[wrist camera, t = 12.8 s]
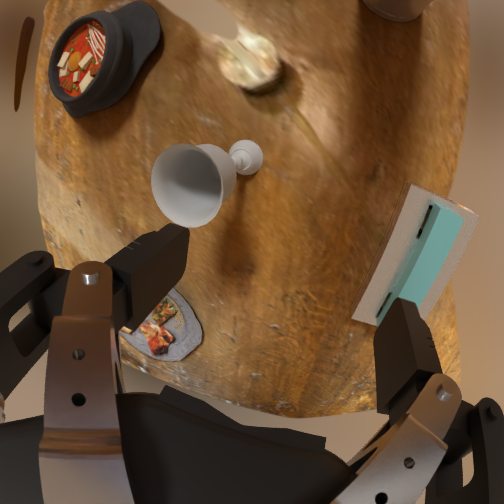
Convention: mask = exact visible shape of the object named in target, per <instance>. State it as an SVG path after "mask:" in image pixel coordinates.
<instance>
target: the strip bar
mask: <svg viewBox="0 0 504 504" xmlns="http://www.w3.org/2000/svg"><path fill="white" fill-rule="evenodd" d="M463 221H464V219H463V218H462V217H461V216H460V215H458V214H457V213H455V212H453V211H451V210H449V209H447V208H445V207H443V206H441V205H439V204H437V203H434V205H433V207H432V210H431V209H429V208H428V210H427V212H426V215H425V217H424V220H423V222H422V225H421V227H420V228H421V229H422V233H421V236H420V238H419V240H418V242H417V244H416V247H415V249H414V251H413V253H412V255H411V257H410V259H409V261H408V263H407V265H406V267H405V269H404V271H403V273H402V275H401V277H400V279H399V281H398V283H397V285H396V287H395V288H394V290H393V292H392V293H391V292H389V293H388V295H387V297H386V299H385V300H384V302H383V304H382V312H381V313H380V315H379V317H378V318H377V320H376V322H377V328H378V326H379V325H380V323H381V321H382V320H383V318H384V316H385V315H386V313H387V311H388V309H389V308H390V306H391V304H392V302H393V301H394V300H395V299H396V298H397V297H400V298H403V299H406V300H409V301H412V302H415V303H416V305H417V308H419V306H420V304H421V303H422V301H423V299H424V298H425V296H426V294H427V293H428V291H429V289H430V287H431V286H432V284H433V282H434V280H435V278H436V277H437V275H438V273H439V271H440V269H441V267H442V265H443V263H444V262H445V260H446V258H447V256H448V254H449V252H450V249H451V247H452V245H453V243H454V241H455V239H456V237H457V235H458V232H459V230H460V228H461V226H462V223H463Z"/></svg>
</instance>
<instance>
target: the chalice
mask: <svg viewBox="0 0 504 504" xmlns="http://www.w3.org/2000/svg"><path fill="white" fill-rule="evenodd" d="M262 163H263V153H262V151H261V149H260V147H259V146H258V145H257V144H256V143H254V142H253V141H249V140H241V141H238V142H236V143H235V144H234V145H232V147H231V149H230V150H229V154H228V153H226V152H225V151H224V150H222V149H221V148H219V147H218V146H214V145H211V144H202V145H197V146H194V145H190V144H187V143H184V144H174V145H172V146H170V147H169V148H167V149H165V150H164V151H163V152H162V153H161V154H160V155H159V157H158V158H157V159H156V162H155V164H154V167H153V169H152V177H151V184H152V191H153V195H154V197H155V200H156V202H157V205H158V206H159V208H160V209H161V210H162V212H163V213H164V214H165V215H166V216H167V217H168V218H169V219H171V220H172V221H173V222H174V223H177V224H179V225H182V226H184V227H199V226H202V225H205V224H207V223H208V222H209V221H210V220H212V219H213V218H214V217H215V216H216V214H217V212H218V210H219V209H220V207H221V204H222V203H223V202H224V201H225V200H227V199H228V198H229V197H230V196H231V194H232V192H233V190H234V189H235V184H236V177H237V174H236V172H237V173H239V174H242V175H251V174H254V173H255V172H257V171H258V170H259V169H260V167H261V166H262Z"/></svg>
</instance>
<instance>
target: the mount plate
mask: <svg viewBox="0 0 504 504" xmlns="http://www.w3.org/2000/svg"><path fill="white" fill-rule="evenodd" d="M434 203H437V204H439V205H441V206H443V207H445V208H447V209H449V210H451V211H453V212H455V213H457V214H458V215H460V216H461V217H462V218H463V219H464V221H463V223H462V226H461V228H460V230H459V232H458V235H457V237H456V239H455V241H454V243H453V245H452V247H451V249H450V252H449V254H448V256H447V258H446V260H445V262H444V263H443V265H442V267H441V269H440V271H439V273H438V275H437V277H436V278H435V280H434V282H433V284H432V286H431V287H430V289H429V291H428V293H427V294H426V296H425V298H424V299H423V301H422V303H421V304H420V306H419V308H418V311H419V314H420V317H421V318H422V319H423V320H424V321H425V319H426V318H427V316H428V315H429V313H430V312H431V310H432V308H433V307H434V305H435V304H436V302H437V300H438V299H439V297H440V295H441V294H442V292H443V290H444V288H445V287H446V285H447V283H448V281H449V280H450V278H451V276H452V274H453V272H454V270H455V268H456V266H457V264H458V262H459V260H460V259H461V256H462V255H463V253H464V251H465V249H466V246H467V244H468V242H469V240H470V238H471V236H472V234H473V231H474V229H475V227H476V225H477V222H478V220H479V216H478V215H477V214H475V213H474V212H473V211H471V210H470V209H467V208H466V207H464V206H462V205H460V204H458V203H456V202H454V201H452V200H450V199H448V198H446V197H444V196H441V195H439V194H437V193H435V192H433V191H431V190H429V189H426V188H424V187H422V186H420V185H417V184H415V183H413V182H410V181H408V180H405V183H404V186H403V189H402V191H401V194H400V197H399V199H398V202H397V205H396V207H395V210H394V213H393V215H392V218H391V220H390V223H389V225H388V228H387V230H386V232H385V235H384V237H383V240H382V242H381V244H380V247H379V249H378V251H377V253H376V256H375V258H374V260H373V262H372V264H371V267H370V269H369V271H368V273H367V275H366V277H365V279H364V282H363V284H362V286H361V288H360V290H359V292H358V294H357V296H356V298H355V300H354V302H353V304H352V306H351V319H355V320H358V321H361V322H365V323H368V324H371V325H375V326H377V322H376V320H377V318H378V317H379V315H380V313H381V312H382V309H381V306H382V304H383V302H384V300H385V299H386V297H387V295H388V293H389V292H391V293H392V292H393V290H394V288H395V287H396V285H397V283H398V281H399V279H400V277H401V275H402V273H403V271H404V269H405V267H406V265H407V263H408V261H409V259H410V257H411V255H412V253H413V251H414V249H415V247H416V244H417V242H418V240H419V238H420V236H421V234H419V233H418V231H419V229H420V227H421V225H422V222H423V220H424V217H425V215H426V212H427V210H428V207H429V205H432V206H433V205H434Z"/></svg>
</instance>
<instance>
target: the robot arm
mask: <svg viewBox="0 0 504 504" xmlns="http://www.w3.org/2000/svg"><path fill="white" fill-rule="evenodd" d="M362 1H363V3H364V4H365V5H366V6H367V7H368V8H369V9H370V10H371V11H372V12H373V13H375V14H377V15H378V16H380V17H382V18H384V19H387V20H390V21H394V22H409V21H412V20H414V19H416V18H417V17H418V16H419V15H420V14H421V13H422V11H423V10H424V9H425V8H426V7H427V6H428V5H429V4H430V3H431V1H432V0H362ZM189 236H190V232H189V229H188V228H185V227H182V226H179V225H176V224H172V223H169V224H167V225H166V226H164V227H163V228H162V229H160V230H159V231H157V232H156V231H153V232H149V233H146V234H143V235H141V236H140V237H138V238H137V239H136V240H134V242H131V243H130V244H129V245H127V247H124V248H123V249H122V250H120V251H119V252H117V253H116V254H115V255H113V256H112V257H111V258H109V259H108V260H107V261H105V262H104V263H102V262H98V261H87V262H83V263H80V264H78V265H76V266H75V267H74V268H73V269H72V270H66V269H61V268H56V267H55V265H54V259H53V256H52V255H51V254H50V253H49V252H46V251H33V252H30V253H27V254H25V255H24V256H22V257H21V258H19V259H18V260H17V261H15V262H14V263H13V264H11V265H10V266H8V267H7V268H6V269H5V270H3V271H2V272H1V273H0V504H415V502H416V501H417V500H418V498H419V497H420V495H421V494H422V492H423V491H424V489H425V488H426V495H425V504H504V415H503V412H502V410H501V408H500V406H499V405H498V404H497V403H496V402H495V401H494V400H493V399H491V398H483V399H481V400H480V401H479V402H478V403H477V404H476V405H475V406H473V405H471V404H469V403H467V402H465V401H463V400H462V395H461V391H460V389H459V387H458V385H457V384H456V382H455V381H454V380H453V379H452V378H450V377H449V376H447V375H445V374H443V372H442V369H441V365H440V361H439V358H438V354H437V351H436V349H435V344H434V341H433V340H432V339H433V338H432V335H431V332H430V329H429V327H428V326H427V324H426V323H425V321H424V320H423V319H422V318H421V317H420V314H419V311H418V308H417V305H416V303H415V302H412V301H409V300H406V299H403V298H400V297H397V298H396V299H395V300H394V301H393V302H392V304H391V306H390V308H389V309H388V311H387V313H386V315H385V316H384V318H383V320H382V321H381V323H380V325H379V326H378V328H377V330H376V332H375V336H374V341H373V345H374V357H375V371H376V391H377V413H381V414H387V415H389V420H388V421H387V422H386V423H385V424H384V425H383V426H382V427H381V428H380V429H379V430H378V432H377V433H376V434H375V435H374V436H373V437H372V438H371V439H370V440H369V442H368V443H367V444H366V445H365V446H364V447H363V448H362V449H361V450H360V451H359V452H358V453H357V454H356V455H355V456H354V457H353V458H352V459H351V460H349V461H348V462H347V463H345V462H344V461H343V460H342V459H340V458H339V457H338V456H336V455H335V454H333V453H331V452H330V451H328V450H326V449H325V442H326V437H322V436H317V435H312V434H308V433H304V432H300V431H296V430H292V429H287V428H268V427H255V426H245V425H241V424H239V423H237V422H236V421H234V420H233V419H231V418H229V417H228V416H226V415H224V414H223V413H221V412H220V411H218V410H217V409H215V408H213V407H212V406H210V405H209V404H208V403H206V402H205V401H202V400H200V399H197V398H195V397H192V396H190V395H188V394H185V393H183V392H180V391H178V390H176V389H174V388H172V387H169V386H167V385H165V387H164V388H163V390H162V392H161V393H160V395H159V394H155V393H147V392H130V393H126V391H125V385H124V379H123V371H122V361H121V350H120V337H119V331H120V330H121V329H122V328H123V327H126V328H128V329H130V330H132V331H134V332H135V331H136V330H137V328H138V327H139V326H140V325H141V324H142V323H143V321H144V320H145V319H146V318H147V317H148V316H149V314H150V313H151V312H152V311H153V310H154V309H155V308H156V306H157V305H158V304H159V303H160V302H161V301H162V300H163V298H164V297H165V296H166V295H167V294H168V293H169V292H170V290H171V289H172V288H173V287H174V286H175V285H176V284H177V283H178V281H179V280H180V279H181V278H182V276H183V274H184V271H185V268H186V262H187V253H188V244H189ZM26 303H28V306H29V309H30V312H31V313H30V314H29V315H28V316H26V317H25V318H24V319H23V320H22V321H21V322H20V323H19V324H18V325H17V326H16V327H15V328H14V329H13V330H12V331H11V332H9V328H8V325H9V321H10V319H11V317H12V316H13V315H14V314H15V313H16V312H17V311H18V310H19V309H21V308H22V307H23V306H24V305H25V304H26ZM47 349H48V356H47V366H46V378H45V393H44V415H40V416H36V417H31V418H26V419H21V420H16V421H11V422H6V423H4V422H5V414H4V412H3V411H4V401H5V400H6V399H7V397H8V396H9V395H10V393H11V392H12V391H13V390H14V388H15V387H16V386H17V385H18V383H19V382H20V381H21V380H22V378H23V377H24V376H25V375H26V374H27V373H28V371H29V370H30V369H31V368H32V367H33V366H34V364H35V363H36V362H37V361H38V360H39V359H40V357H41V356H42V355H43V354H44V353H45V352H46V350H47ZM472 451H473V462H474V475H473V478H472V480H471V481H470V482H469V484H467V485H466V486H464V487H463V471H462V458H463V457H465V456H466V455H467V454H469V453H470V452H472Z"/></svg>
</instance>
